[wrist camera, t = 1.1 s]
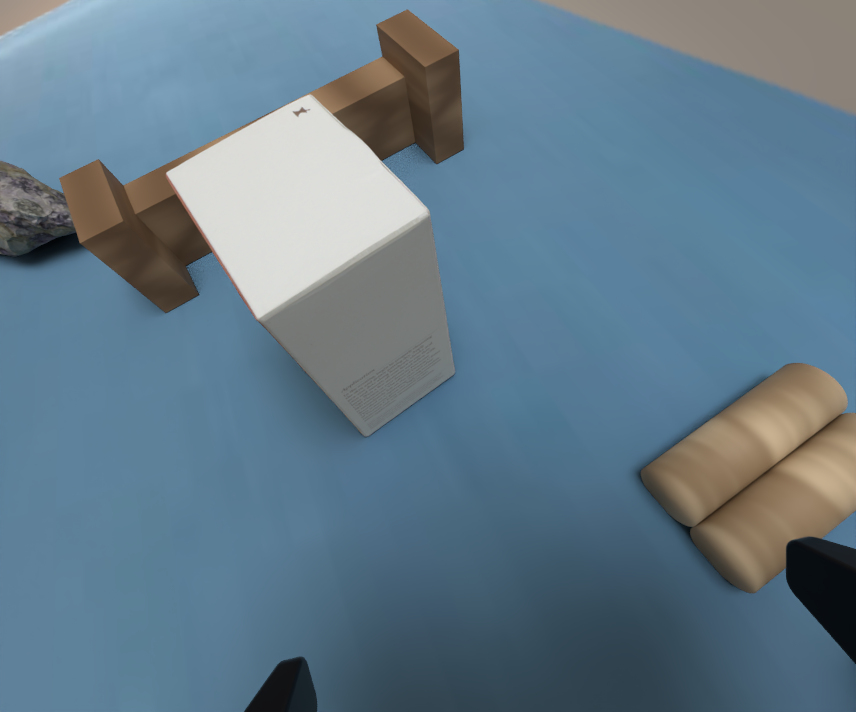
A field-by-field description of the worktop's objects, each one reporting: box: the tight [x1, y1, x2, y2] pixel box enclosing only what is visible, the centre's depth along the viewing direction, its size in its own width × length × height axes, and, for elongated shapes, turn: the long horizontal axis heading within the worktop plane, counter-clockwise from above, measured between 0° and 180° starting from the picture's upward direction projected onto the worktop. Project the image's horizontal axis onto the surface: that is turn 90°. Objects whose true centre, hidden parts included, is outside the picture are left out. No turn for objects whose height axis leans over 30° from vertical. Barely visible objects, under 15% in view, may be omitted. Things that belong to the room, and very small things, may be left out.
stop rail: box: [59, 10, 464, 313], centre depth 29 cm, size 24×6×7 cm, turn 122°
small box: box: [166, 94, 455, 437], centre depth 21 cm, size 8×6×13 cm
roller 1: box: [641, 363, 848, 527], centre depth 21 cm, size 9×3×3 cm
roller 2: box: [690, 413, 856, 593], centre depth 19 cm, size 9×3×3 cm, turn 122°
